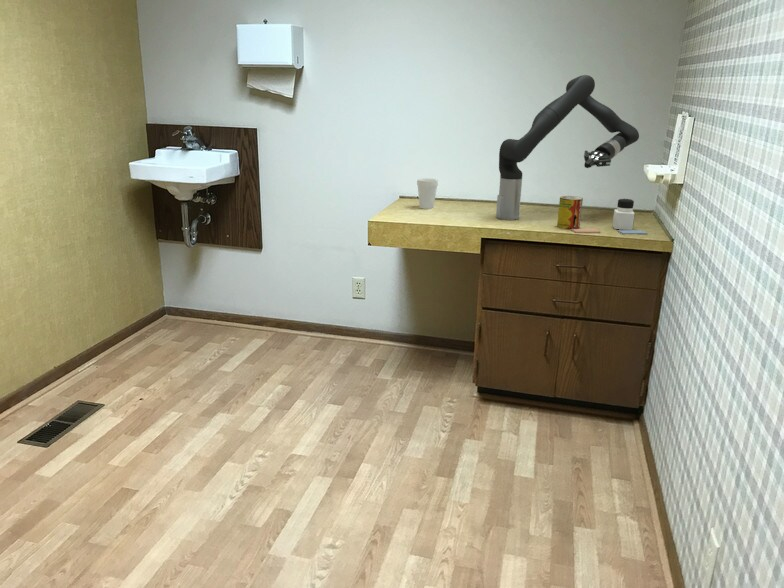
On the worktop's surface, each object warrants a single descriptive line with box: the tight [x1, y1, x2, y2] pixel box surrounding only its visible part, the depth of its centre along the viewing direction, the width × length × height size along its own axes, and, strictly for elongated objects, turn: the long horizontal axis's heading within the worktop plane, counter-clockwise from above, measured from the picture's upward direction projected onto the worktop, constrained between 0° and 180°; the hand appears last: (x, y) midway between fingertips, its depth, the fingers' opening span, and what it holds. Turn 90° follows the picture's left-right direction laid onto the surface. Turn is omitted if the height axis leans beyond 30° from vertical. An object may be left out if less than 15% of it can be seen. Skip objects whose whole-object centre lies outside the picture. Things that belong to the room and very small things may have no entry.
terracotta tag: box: [570, 228, 601, 234], centre depth 254 cm, size 10×5×1 cm, turn 96°
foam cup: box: [416, 177, 439, 210], centre depth 295 cm, size 10×9×13 cm
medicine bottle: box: [612, 198, 636, 230], centre depth 260 cm, size 7×7×12 cm
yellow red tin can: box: [556, 195, 584, 230], centre depth 261 cm, size 9×9×12 cm
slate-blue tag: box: [617, 229, 649, 235], centre depth 253 cm, size 10×5×1 cm, turn 96°
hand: (586, 165), depth 266 cm, fingers closed
